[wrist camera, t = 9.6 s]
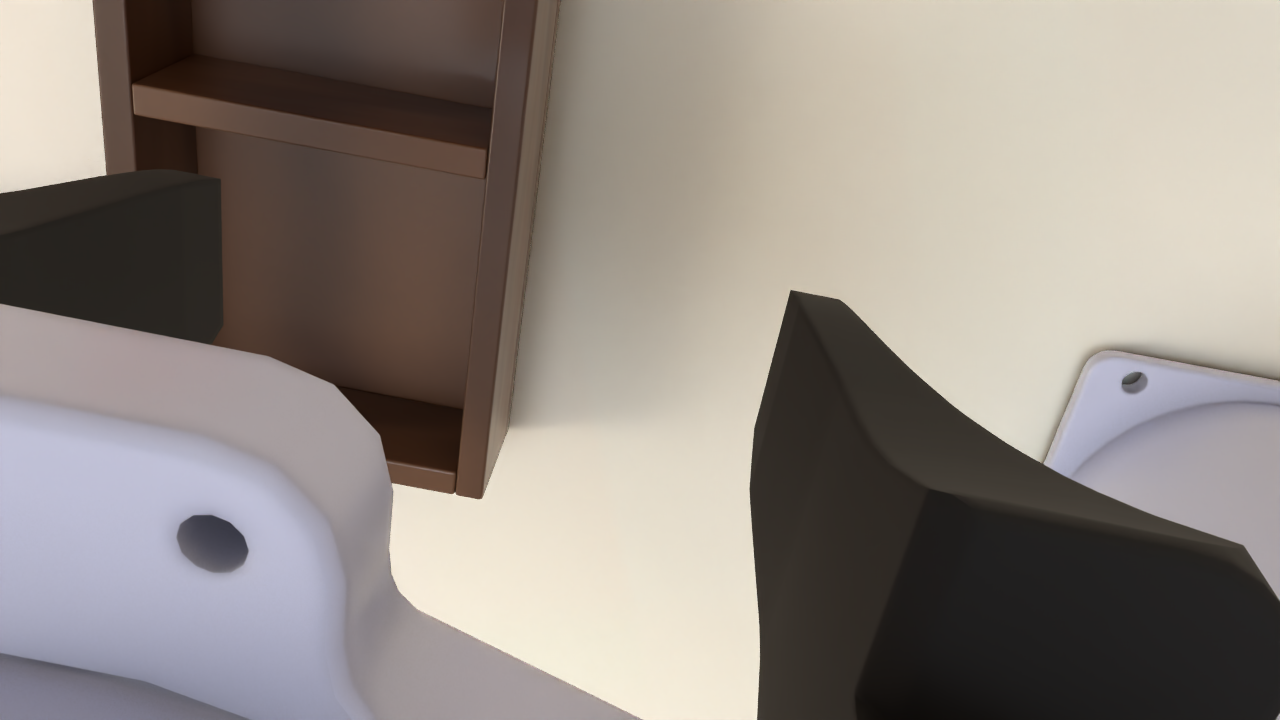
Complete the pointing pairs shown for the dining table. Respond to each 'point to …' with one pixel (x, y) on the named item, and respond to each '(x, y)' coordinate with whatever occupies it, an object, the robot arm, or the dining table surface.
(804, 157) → the dining table surface
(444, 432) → the organizer
